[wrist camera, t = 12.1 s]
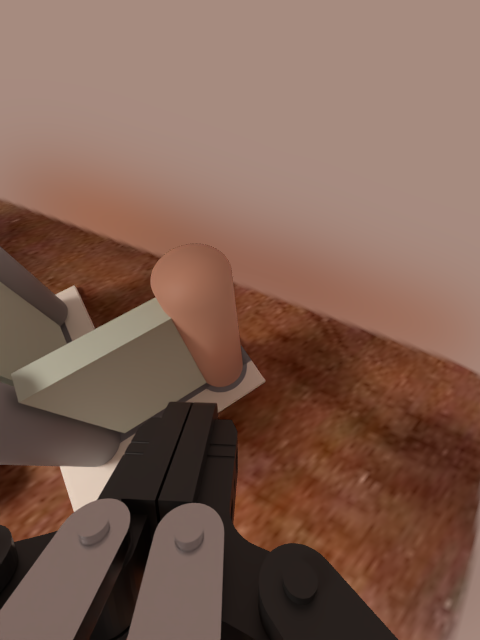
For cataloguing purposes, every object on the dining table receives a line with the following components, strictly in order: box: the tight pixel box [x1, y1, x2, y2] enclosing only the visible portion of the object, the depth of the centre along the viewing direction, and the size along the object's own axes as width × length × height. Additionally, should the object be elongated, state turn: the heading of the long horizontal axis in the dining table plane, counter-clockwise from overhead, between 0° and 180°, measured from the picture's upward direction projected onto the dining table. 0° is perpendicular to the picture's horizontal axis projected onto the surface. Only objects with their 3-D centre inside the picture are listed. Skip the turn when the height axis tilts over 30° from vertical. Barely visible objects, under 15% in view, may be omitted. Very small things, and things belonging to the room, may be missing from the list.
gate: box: [11, 244, 243, 433], centre depth 15 cm, size 9×3×10 cm, turn 122°
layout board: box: [56, 286, 265, 512], centre depth 20 cm, size 24×14×1 cm, turn 32°
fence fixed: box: [0, 247, 120, 467], centre depth 16 cm, size 13×3×11 cm, turn 33°
